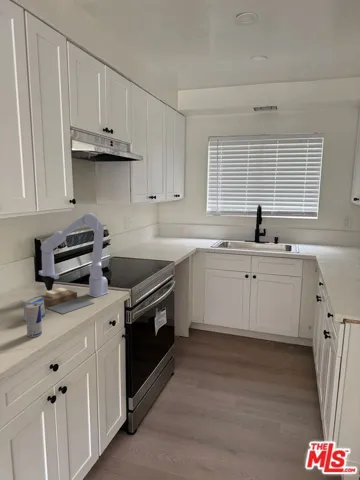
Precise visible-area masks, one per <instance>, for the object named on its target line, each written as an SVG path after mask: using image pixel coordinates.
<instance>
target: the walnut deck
mask: <svg viewBox="0 0 360 480" xmlns="http://www.w3.org/2000/svg"><path fill="white" fill-rule="evenodd" d="M68 290H69V293H68V294H65V295H62V296H58V297H55V298H52V297H49V296H46V293H44V294H42V295H38V296H36V297H43V298H44V307H46V308H48V307H51V306H54V305H57V304H60V303H64V302H67V301H70V300H73V299H76V298H78V291H74V290H72V289H68Z"/></svg>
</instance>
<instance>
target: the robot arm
mask: <svg viewBox="0 0 360 480" xmlns="http://www.w3.org/2000/svg"><path fill="white" fill-rule="evenodd" d="M85 225H86V226H87V227H89V228H91V229H92V231H94V232H93V233H94V234H93V249H92V260H91V265H90V267H89V269H88V270H89V275H90V276H89V277H88V281H89V283H88V284H89V285H88V286H89V292H87V293H85V294H86V295H87V296H90V297H93V298H98V297H101V296H103V295H104V296H105V295H107V294H109V293H110V292H109V285H108V279H107V278H106V277H105V276H103V270H102V256H103V246H104V245H103V243H104V232H105V231H104V230H105V229H104V227H103V225H102V223H101V222H100V220H99V218H98V217H97V215H95V214H94V213H93V212H86V213H84V214H83V215H81V216H79V217H77V218H76V219H75V220H74V221H72V222H71V223H70V224H69V225H68V226H67V227H66V228H64V229H63V230H58V231H54V233H53V234H52V235H50V237H48V238H46V239H45V241H43V242H42V243H41V245H40V251H41V270H38V275H40V276H42V277H41V280H42V281H43V283H44V286H45V288H46V291H50V290H53V287H54V283H55V281H56V280H58V279H60V275H59V274H57V272H55V257H54V249H55V248H57V247H58V246H60V245H61V244H62V243H63V242H65V241H67V236H68V235H70V234H71V233H72V232H73V231H75V230H76V229H78V228H80V227H85Z"/></svg>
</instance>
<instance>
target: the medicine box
mask: <svg viewBox="0 0 360 480" xmlns="http://www.w3.org/2000/svg"><path fill="white" fill-rule="evenodd" d="M32 303H38V304H40V306H41V318H43V317H45V314H46V312H45V311H46V310H45V306H44V298H43V297H37V296H35V297H32V298H30V299H28V300H25V301H23V303H22V304H23V313H24V315H23V316H24V321H25V322H26V306H27V305H28V304H32Z"/></svg>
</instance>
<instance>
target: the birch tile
mask: <svg viewBox="0 0 360 480" xmlns="http://www.w3.org/2000/svg"><path fill="white" fill-rule="evenodd" d="M69 290H70V289H68V288H64V287H58V288H55V289H52V290H49V291H48V290H46V291H45V294H46V296H49V297H52V298H55V297H58V296H62V295H65V294H68V293H69Z"/></svg>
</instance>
